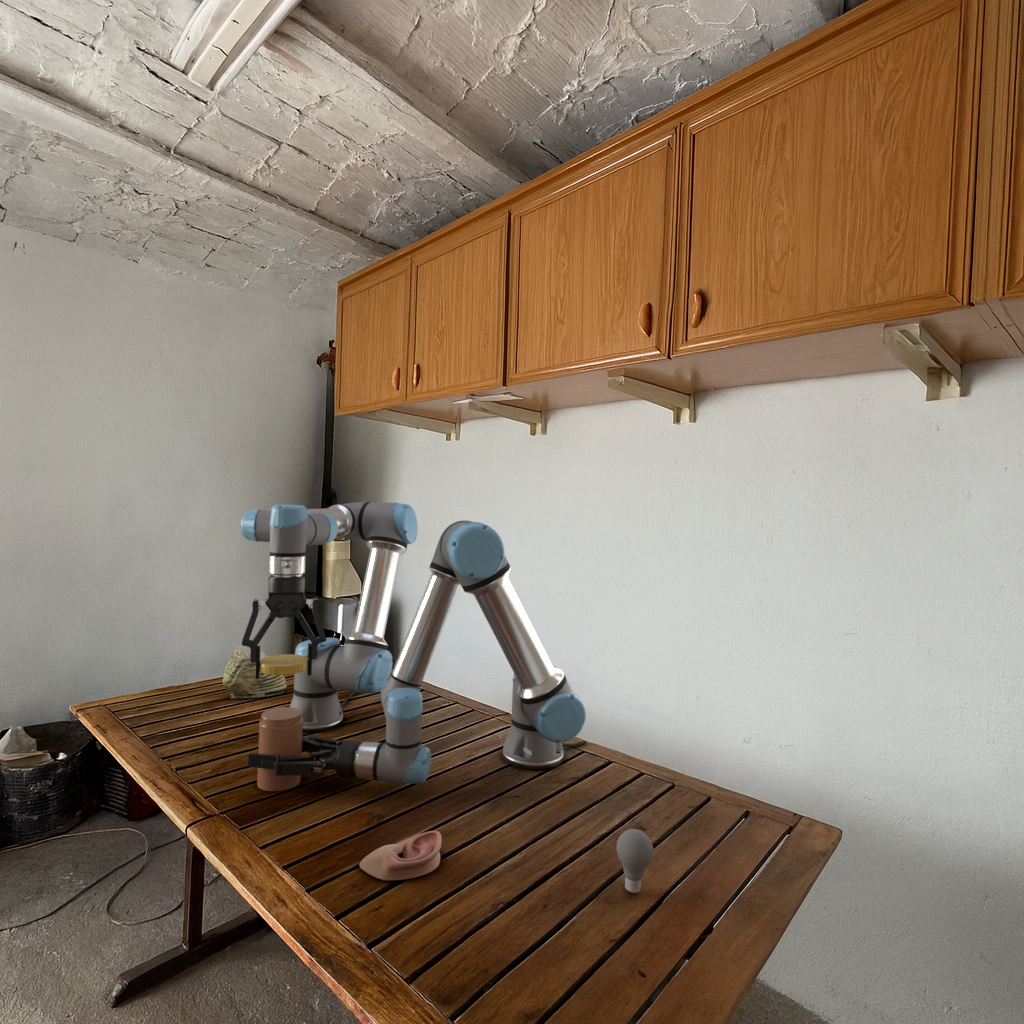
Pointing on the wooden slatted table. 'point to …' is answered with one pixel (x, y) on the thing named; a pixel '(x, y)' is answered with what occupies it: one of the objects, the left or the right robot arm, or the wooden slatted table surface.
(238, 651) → the fossil
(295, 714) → the jar
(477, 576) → the right robot arm
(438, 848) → the anatomical model
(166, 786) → the wooden slatted table surface
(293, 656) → the lid
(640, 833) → the light bulb
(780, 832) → the wooden slatted table surface
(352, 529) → the left robot arm
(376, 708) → the wooden slatted table surface
